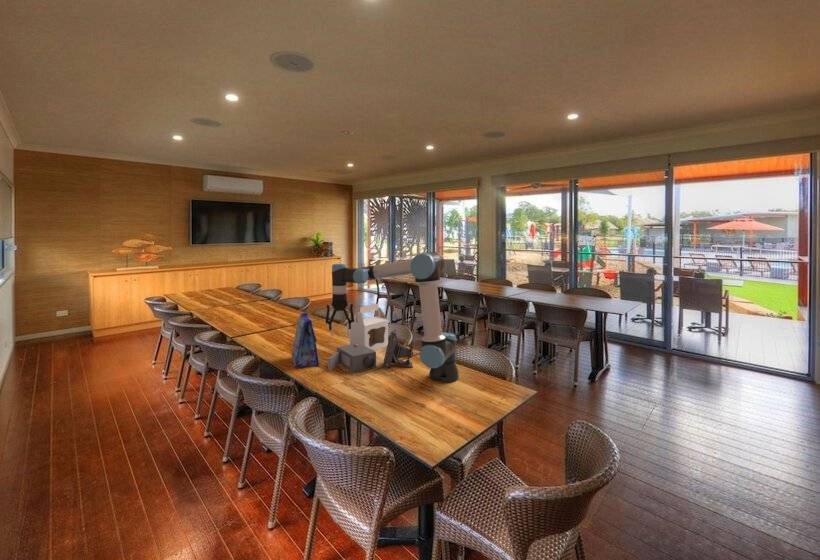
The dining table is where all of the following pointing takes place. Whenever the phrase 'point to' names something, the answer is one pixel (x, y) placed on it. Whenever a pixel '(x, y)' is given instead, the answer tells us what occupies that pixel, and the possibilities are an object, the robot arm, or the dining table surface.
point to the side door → (334, 360)
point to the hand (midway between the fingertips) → (340, 335)
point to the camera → (397, 352)
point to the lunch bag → (304, 343)
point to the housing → (357, 357)
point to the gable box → (370, 328)
